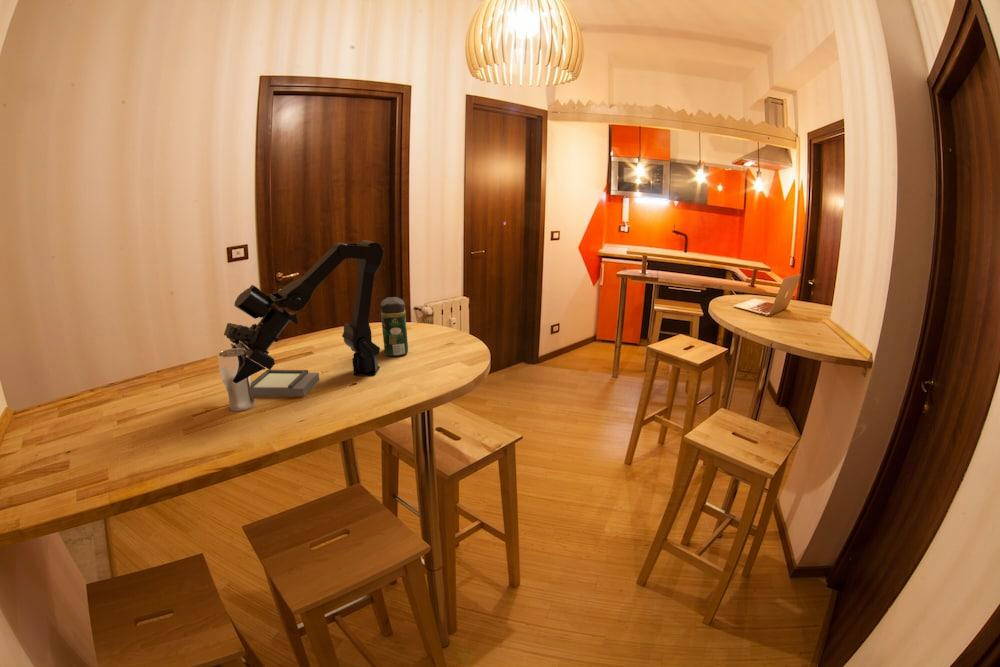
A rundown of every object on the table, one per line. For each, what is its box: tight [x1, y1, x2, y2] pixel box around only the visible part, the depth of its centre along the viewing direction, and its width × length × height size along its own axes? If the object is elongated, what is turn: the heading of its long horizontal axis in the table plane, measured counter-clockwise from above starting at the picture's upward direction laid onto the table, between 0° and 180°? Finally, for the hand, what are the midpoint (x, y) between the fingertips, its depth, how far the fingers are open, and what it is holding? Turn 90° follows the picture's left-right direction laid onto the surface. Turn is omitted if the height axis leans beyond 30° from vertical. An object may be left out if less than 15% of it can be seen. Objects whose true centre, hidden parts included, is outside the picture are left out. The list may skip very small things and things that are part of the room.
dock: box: [251, 369, 320, 398], centre depth 142 cm, size 15×11×3 cm
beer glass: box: [217, 348, 256, 412], centre depth 129 cm, size 7×7×15 cm
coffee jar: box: [380, 296, 409, 357], centre depth 166 cm, size 10×8×19 cm
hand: (230, 378), depth 128 cm, fingers closed on beer glass, 6 cm apart
